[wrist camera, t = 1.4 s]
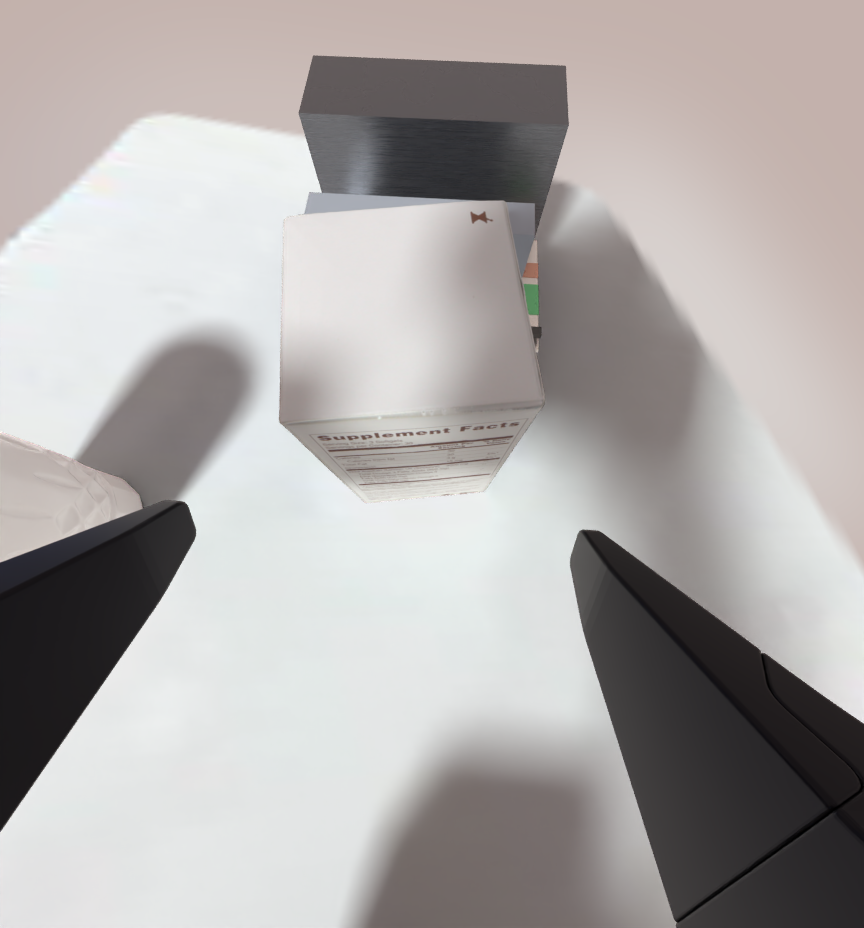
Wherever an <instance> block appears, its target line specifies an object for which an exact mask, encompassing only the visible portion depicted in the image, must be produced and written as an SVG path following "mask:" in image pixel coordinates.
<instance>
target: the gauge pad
mask: <svg viewBox="0 0 864 928" xmlns="http://www.w3.org/2000/svg"><path fill="white" fill-rule="evenodd" d="M466 201H475V200H455V199H434V198H414V197H394V196H374V195H354V194H333V193H313V192H309V196H308V200H307V205H306V209H305V214H313V213H327V212H340V211H352V210H364V209H376V208H391V207H402V206H413V205H426V204H438V203H450V202H466ZM507 206H508V212H509V219H510V224H511V229H512V234H513V239H514V244H515V249H516V254H517V259H518V264H519V269H520V274H521V277H523V273H524V270H525V267H526V264H527V260H528V257H529V254H530V250H531V247H532V244H533V240H534V237H535V203H515V202H507ZM531 329H532V334H533V338H538V339H540V337H541V327H533V326H531Z"/></svg>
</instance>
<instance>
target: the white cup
mask: <svg viewBox="0 0 864 928" xmlns="http://www.w3.org/2000/svg"><path fill="white" fill-rule="evenodd" d="M140 509H143V507H142V503H141V499H140V495H139V494H138V493H137V492H136V491H135V490H134V489H133V488H132V487H131V486H130V485H129V484H128V483H127V482H126V481H125V480H123V479H122V478H119V477H116V476H113V475H110V474H107V473H105V472H102V471H99V470H96V469H93V468H90V467H88V466H85V465H83V464H81V463H79V462H78V461H76V460H74V459H72V458H69V457H67V456H64V455H62V454H59V453H56V452H54V451H51V450H48V449H45V448H44V447H41V446H39V445H36V444H33V443H31V442H28V441H25V440H22V439H20V438H17V437H14V436H11V435H9V434H6V433H3V432H0V562H3V561H5V560H8V559H11V558H13V557H16V556H19V555H21V554H24V553H27V552H29V551H32V550H34V549H37V548H40V547H42V546H45V545H48V544H50V543H53V542H56V541H58V540H61V539H64V538H66V537H69V536H72V535H74V534H77V533H79V532H82V531H85V530H87V529H90V528H93V527H95V526H98V525H101V524H103V523H106V522H109V521H111V520H114V519H116V518H119V517H122V516H124V515H127V514H130V513H132V512H135V511H138V510H140Z"/></svg>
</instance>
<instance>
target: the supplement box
mask: <svg viewBox="0 0 864 928" xmlns="http://www.w3.org/2000/svg"><path fill="white" fill-rule="evenodd" d="M544 403H545V393H544V388H543V383H542V378H541V372H540V368H539V363H538V359H537V354H536V349H535V344H534V339H533V334H532V329H531V324H530V319H529V314H528V309H527V303H526V296H525V290H524V284H523V281H522V277H521V274H520V269H519V264H518V259H517V254H516V249H515V244H514V239H513V234H512V229H511V224H510V219H509V212H508V206H507V202H505V201H466V202H450V203H438V204H426V205H413V206H402V207H391V208H376V209H364V210H352V211H340V212H327V213H313V214H303V215H296V216H290V217H286V218H285V219H284V226H283V260H282V304H281V350H280V410H279V421H280V424H282V425H283V426H284V427H285V428H286V429H287V430H288V431H290V432H291V433H292V434H293V435H294V436H295V437H296V438H297V439H298V440H299V441H300V442H301V443H302V444H303V445H304V446H305V447H306V448H307V449H308V450H309V451H311V452H312V453H313V454H314V455H315V456H316V457H317V458H318V459H319V460H320V461H321V462H322V463H323V464H324V465H325V466H326V467H327V468H328V469H329V470H330V471H331V472H333V473H334V474H335V475H336V476H337V477H338V478H339V479H340V480H341V481H342V482H343V483H344V484H345V485H346V486H347V487H348V488H349V489H350V490H352V491H353V492H354V493H355V494H356V495H357V496H358V497H359V498H360V499H361V500H362V501H363V502H364V503H366V504H369V503H376V502H386V501H396V500H406V499H417V498H427V497H438V496H449V495H459V494H469V493H480V492H484V491H485V490H486V489H487V487H488V486H489V484H490V483H491V481H492V480H493V478H494V477H495V476H496V474H497V472H498V471H499V470H500V468H501V467H502V465H503V464H504V462H505V461H506V459H507V458H508V457H509V455H510V453H511V452H512V451H513V449H514V447H515V446H516V445H517V443H518V442H519V440H520V439H521V437H522V436H523V434H524V433H525V431H526V430H527V428H528V427H529V426H530V424H531V423H532V421H533V420H534V418H535V417H536V415H537V414H538V413H539V411H540V410H541V409H542V407H543V405H544Z"/></svg>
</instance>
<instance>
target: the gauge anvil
mask: <svg viewBox="0 0 864 928" xmlns="http://www.w3.org/2000/svg"><path fill="white" fill-rule="evenodd" d="M299 116H300V119H301V122H302V126H303V129H304V133H305V136H306V140H307V143H308V146H309V150H310V153H311V157H312V160H313V163H314V167H315V170H316V174H317V177H318V180H319V184H320V187H321V191H322V193H333V194H354V195H374V196H394V197H414V198H434V199H455V200H475V201H505V202H515V203H535V234H536V231H537V228H538V225H539V221H540V218H541V215H542V211H543V208H544V205H545V201H546V198H547V195H548V192H549V188H550V185H551V182H552V178H553V175H554V171H555V168H556V165H557V162H558V158H559V155H560V152H561V149H562V145H563V142H564V139H565V135H566V132H567V129H568V126H569V122H568V103H567V82H566V66H558V65H557V66H556V65H533V64H508V63H483V62H458V61H434V60H409V59H385V58H384V59H383V58H359V57H334V56H313V59H312V62H311V66H310V70H309V74H308V79H307V82H306V86H305V90H304V94H303V98H302V102H301V106H300V110H299ZM534 238H535V237H534ZM522 281H523V284H524V290H525V296H526V303H527V309H528V314H529V319H530V324H531V326H533V327H538V315H539V294H538V261H537V240H533V244H532V247H531V250H530V254H529V257H528V260H527V264H526V267H525V270H524V273H523V277H522ZM533 339H534V344H535V349H536V354H537V353H538V351H539V339H538V338H533Z"/></svg>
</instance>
